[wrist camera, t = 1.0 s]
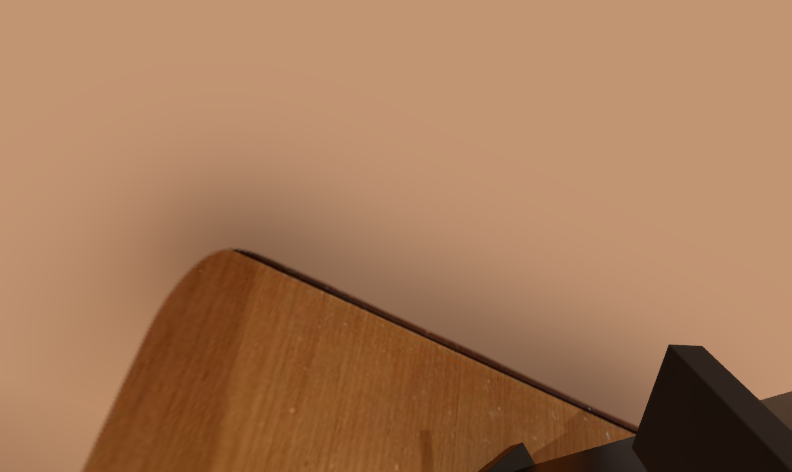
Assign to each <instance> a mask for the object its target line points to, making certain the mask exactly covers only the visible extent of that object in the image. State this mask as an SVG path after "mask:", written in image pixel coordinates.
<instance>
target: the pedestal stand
mask: <svg viewBox="0 0 792 472" xmlns="http://www.w3.org/2000/svg"><path fill="white" fill-rule="evenodd" d="M760 401H761V402H762V403H763V404H764V405H765V406H766V407H767V408H768V409H769V410H770V411H771V412H772V413H773V414H774V415H776V416H777V417H778V418H779V419H780V420H781V421H782V422H783V423H784V424H785V425H786V426H787V427H788V428H789V429H790V430H791V431H792V392H788V393H784V394H781V395H777V396H774V397H770V398H767V399H764V400H760ZM634 439H635V436H634V437H630V438H627V439H623V440H620V441H616V442H613V443H609V444H606V445H602V446H599V447H595V448H592V449H588V450H585V451H581V452H578V453H574V454H571V455H567V456H564V457H560V458H557V459H553V460H550V461H546V462H543V463H539V464H536V465H535V464H534V462H533V460H532V458H531V456H530V455H529V453H528V451H527V449H526V447H525V445H524V444H523V443H519V444H516V445H513V446H510V447H509V448H508V449H506V450H505V451H504V452H503V453H501V454H500V455H499V456H498V457H496V458H495V459H494V460H493V461H491V462H490V463H489V464H487V465H486V466H485V467H484V468H482V469H481V470H480V471H479V472H647V470H646V469H645V467H644V466H643V464H642V463H641V461H640V460H639V458H638V457H637V455H636V454H635V452H634V451H633V449H632V448H631V447H632V445H633V442H634Z"/></svg>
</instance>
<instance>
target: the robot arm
mask: <svg viewBox="0 0 792 472" xmlns="http://www.w3.org/2000/svg"><path fill="white" fill-rule="evenodd" d="M631 448H632V449H633V451H634V452H635V454H636V455H637V457H638V458H639V460H640V461H641V463H642V464H643V466H644V467H645V469H646V470H647V472H792V431H791V430H790V429H789V428H788V427H787V426H786V425H785V424H784V423H783V422H782V421H781V420H780V419H779V418H778V417H777V416H776V415H774V414H773V413H772V412H771V411H770V410H769V409H768V408H767V407H766V406H765V405H764V404H763V403H762V402H761V401H760V400H759V399H758V398H756V397H755V396H754V395H753V394H752V393H751V392H750V391H749V390H748V389H747V388H746V387H745V386H744V385H743V384H742V383H740V381H739V380H737V379H736V378H735V377H734V376H733V375H732V374H731V373H730V372H729V371H728V370H727V369H726V368H724V366H723V365H721V364H720V363H719V362H718V361H717V360H716V359H715V358H714V357H713V356H712V355H711V354H710V353H709V352H708V351H707V350H706V349H705V348H704V347H702V346H689V345H669V346H668V348H667V351H666V354H665V357H664V359H663V362H662V365H661V368H660V370H659V373H658V376H657V379H656V382H655V384H654V387H653V390H652V392H651V395H650V398H649V401H648V403H647V406H646V409H645V412H644V414H643V417H642V420H641V423H640V425H639V428H638V431H637V434H636V436H635V439H634V442H633V445H632V447H631Z"/></svg>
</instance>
